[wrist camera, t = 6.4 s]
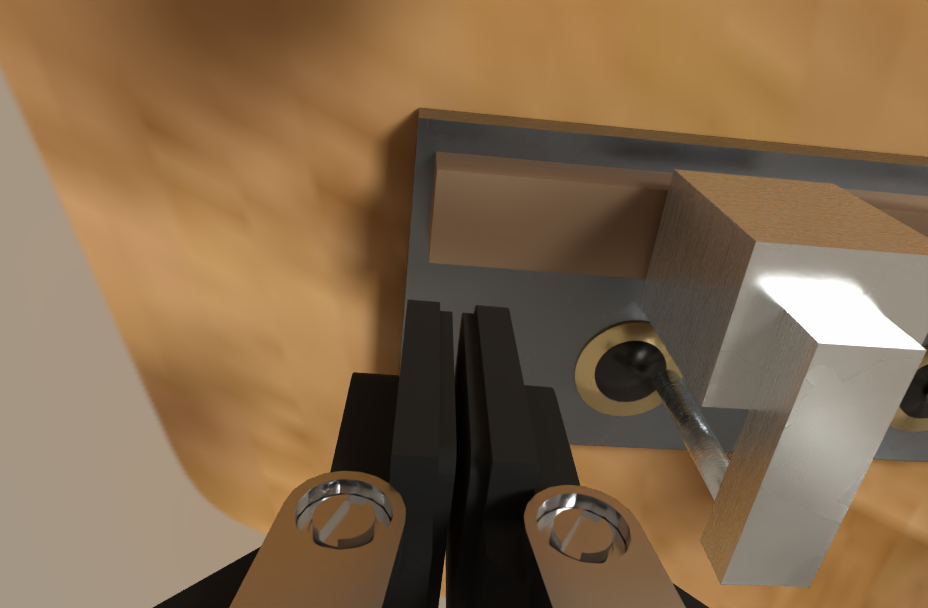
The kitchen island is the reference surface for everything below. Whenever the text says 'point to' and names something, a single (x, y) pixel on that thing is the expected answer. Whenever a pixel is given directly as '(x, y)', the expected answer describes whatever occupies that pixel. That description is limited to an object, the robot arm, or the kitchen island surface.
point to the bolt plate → (617, 298)
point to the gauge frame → (568, 215)
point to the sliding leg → (783, 355)
